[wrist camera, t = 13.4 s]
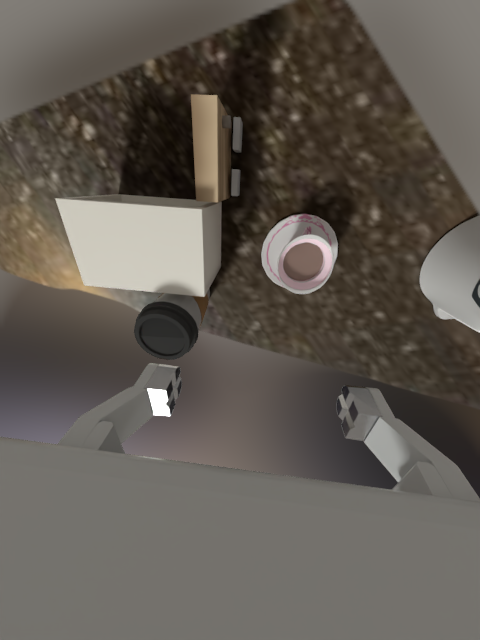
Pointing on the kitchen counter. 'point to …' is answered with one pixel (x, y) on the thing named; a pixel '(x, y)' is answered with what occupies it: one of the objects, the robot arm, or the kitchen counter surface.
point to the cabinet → (148, 239)
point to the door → (211, 148)
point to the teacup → (300, 253)
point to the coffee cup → (170, 324)
